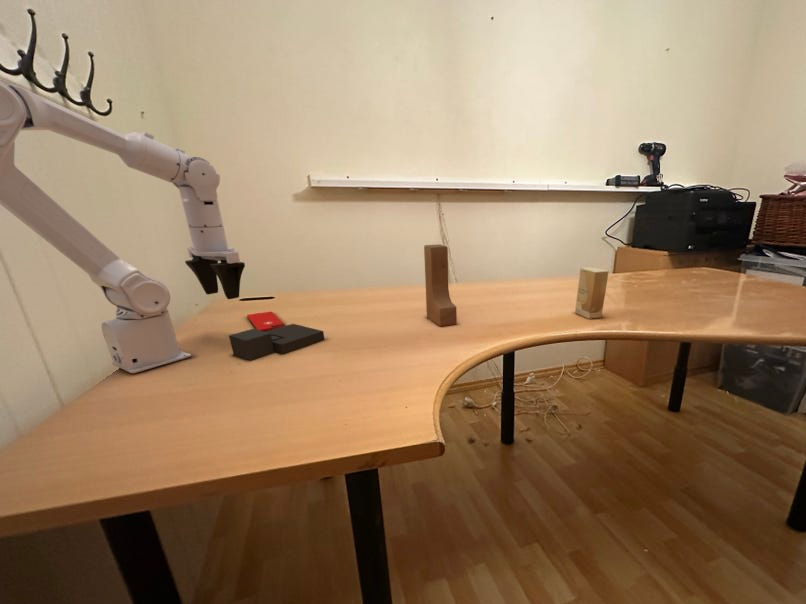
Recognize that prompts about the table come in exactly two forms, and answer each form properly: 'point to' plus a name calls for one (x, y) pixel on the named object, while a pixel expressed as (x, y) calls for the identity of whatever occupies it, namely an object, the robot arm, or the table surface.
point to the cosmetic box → (591, 292)
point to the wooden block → (438, 286)
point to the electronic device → (265, 321)
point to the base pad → (294, 337)
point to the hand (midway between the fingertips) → (222, 295)
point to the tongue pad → (252, 344)
